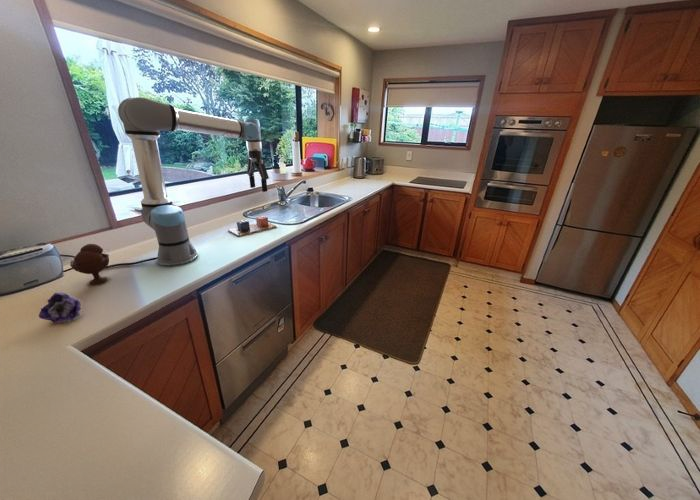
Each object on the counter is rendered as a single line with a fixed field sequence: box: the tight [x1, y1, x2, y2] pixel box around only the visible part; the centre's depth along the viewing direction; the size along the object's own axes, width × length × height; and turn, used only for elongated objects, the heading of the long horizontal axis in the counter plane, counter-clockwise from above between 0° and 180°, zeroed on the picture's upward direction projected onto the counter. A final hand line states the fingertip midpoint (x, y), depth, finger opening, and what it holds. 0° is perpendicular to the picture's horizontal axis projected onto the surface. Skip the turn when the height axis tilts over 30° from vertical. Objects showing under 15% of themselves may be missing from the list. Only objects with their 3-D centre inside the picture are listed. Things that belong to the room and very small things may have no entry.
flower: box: [38, 292, 82, 324], centre depth 86 cm, size 9×9×10 cm
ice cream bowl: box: [69, 243, 110, 287], centre depth 103 cm, size 11×11×15 cm
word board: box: [228, 221, 277, 238], centre depth 164 cm, size 24×12×1 cm, turn 135°
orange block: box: [255, 215, 269, 227], centre depth 167 cm, size 5×5×5 cm
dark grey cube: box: [236, 219, 250, 232], centre depth 159 cm, size 5×5×5 cm
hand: (258, 189), depth 159 cm, fingers open, 13 cm apart
